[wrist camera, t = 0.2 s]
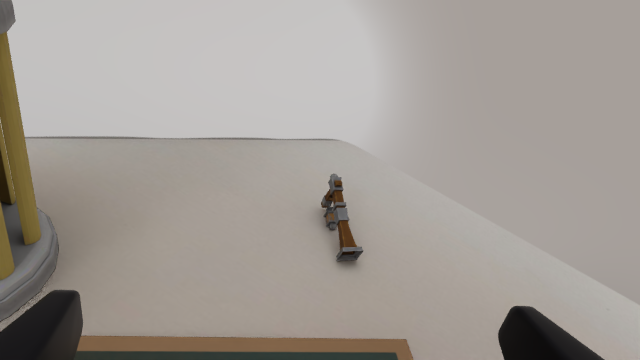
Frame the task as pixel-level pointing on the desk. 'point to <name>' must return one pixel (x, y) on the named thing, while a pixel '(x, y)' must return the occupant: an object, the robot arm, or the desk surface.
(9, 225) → the lantern
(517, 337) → the robot arm
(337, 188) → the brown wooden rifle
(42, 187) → the desk surface
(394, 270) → the desk surface
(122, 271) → the desk surface
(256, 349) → the board
